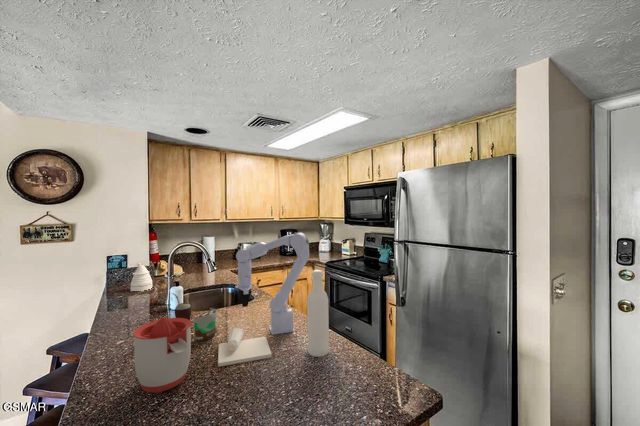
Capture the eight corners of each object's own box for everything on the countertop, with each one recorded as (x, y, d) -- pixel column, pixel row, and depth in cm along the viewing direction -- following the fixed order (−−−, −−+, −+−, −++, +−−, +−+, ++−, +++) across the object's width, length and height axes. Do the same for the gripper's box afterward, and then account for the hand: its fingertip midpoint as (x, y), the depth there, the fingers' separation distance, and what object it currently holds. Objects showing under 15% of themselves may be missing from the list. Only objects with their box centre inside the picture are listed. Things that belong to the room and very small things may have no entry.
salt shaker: (240, 342, 113) (235, 357, 102) (227, 338, 112) (221, 352, 101) (245, 329, 113) (241, 343, 102) (232, 325, 112) (227, 338, 102)
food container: (207, 343, 112) (206, 318, 112) (193, 342, 113) (192, 317, 113) (223, 331, 124) (223, 308, 124) (210, 330, 125) (210, 307, 125)
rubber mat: (265, 339, 115) (265, 336, 115) (271, 357, 101) (271, 353, 101) (218, 346, 109) (218, 343, 109) (218, 366, 95) (218, 363, 95)
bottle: (304, 354, 102) (303, 272, 102) (312, 345, 109) (311, 268, 109) (324, 358, 99) (323, 273, 99) (332, 348, 106) (331, 269, 106)
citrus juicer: (154, 408, 75) (153, 333, 75) (123, 387, 84) (122, 320, 84) (206, 378, 88) (205, 314, 88) (174, 363, 97) (173, 305, 97)
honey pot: (125, 291, 190) (125, 264, 190) (140, 286, 203) (140, 261, 203) (142, 292, 188) (142, 265, 188) (156, 287, 201) (156, 261, 201)
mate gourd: (191, 317, 141) (191, 287, 141) (189, 323, 133) (189, 291, 133) (175, 319, 138) (174, 288, 138) (172, 325, 131) (171, 293, 131)
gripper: (234, 273, 130) (234, 302, 130) (236, 280, 117) (236, 312, 117) (250, 271, 133) (250, 300, 133) (253, 278, 119) (253, 310, 119)
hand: (245, 306), depth 125 cm, fingers closed
